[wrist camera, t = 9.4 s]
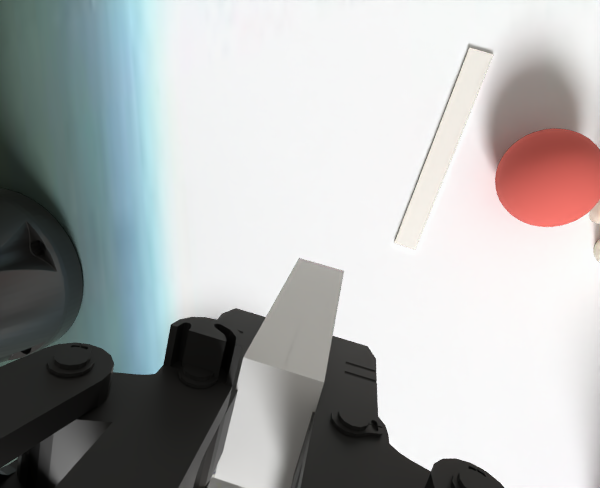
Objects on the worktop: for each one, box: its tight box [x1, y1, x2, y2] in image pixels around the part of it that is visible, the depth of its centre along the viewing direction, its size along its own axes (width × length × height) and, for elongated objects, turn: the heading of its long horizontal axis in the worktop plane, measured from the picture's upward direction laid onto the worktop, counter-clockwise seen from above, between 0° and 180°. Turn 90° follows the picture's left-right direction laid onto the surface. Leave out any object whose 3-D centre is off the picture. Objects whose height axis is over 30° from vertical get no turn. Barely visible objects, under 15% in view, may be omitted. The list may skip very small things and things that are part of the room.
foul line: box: [394, 48, 493, 250], centre depth 30 cm, size 2×14×1 cm, turn 163°
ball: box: [495, 129, 600, 227], centre depth 27 cm, size 6×6×6 cm
